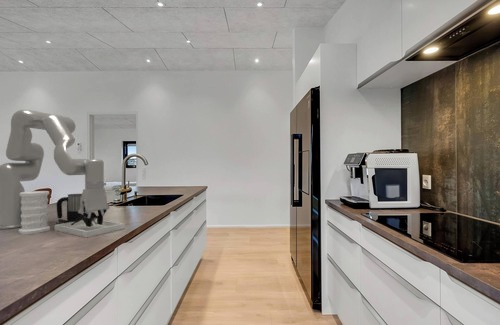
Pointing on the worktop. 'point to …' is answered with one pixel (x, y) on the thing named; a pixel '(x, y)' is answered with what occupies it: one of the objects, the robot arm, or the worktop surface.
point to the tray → (89, 228)
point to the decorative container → (34, 212)
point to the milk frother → (70, 207)
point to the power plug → (85, 218)
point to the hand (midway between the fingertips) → (94, 224)
